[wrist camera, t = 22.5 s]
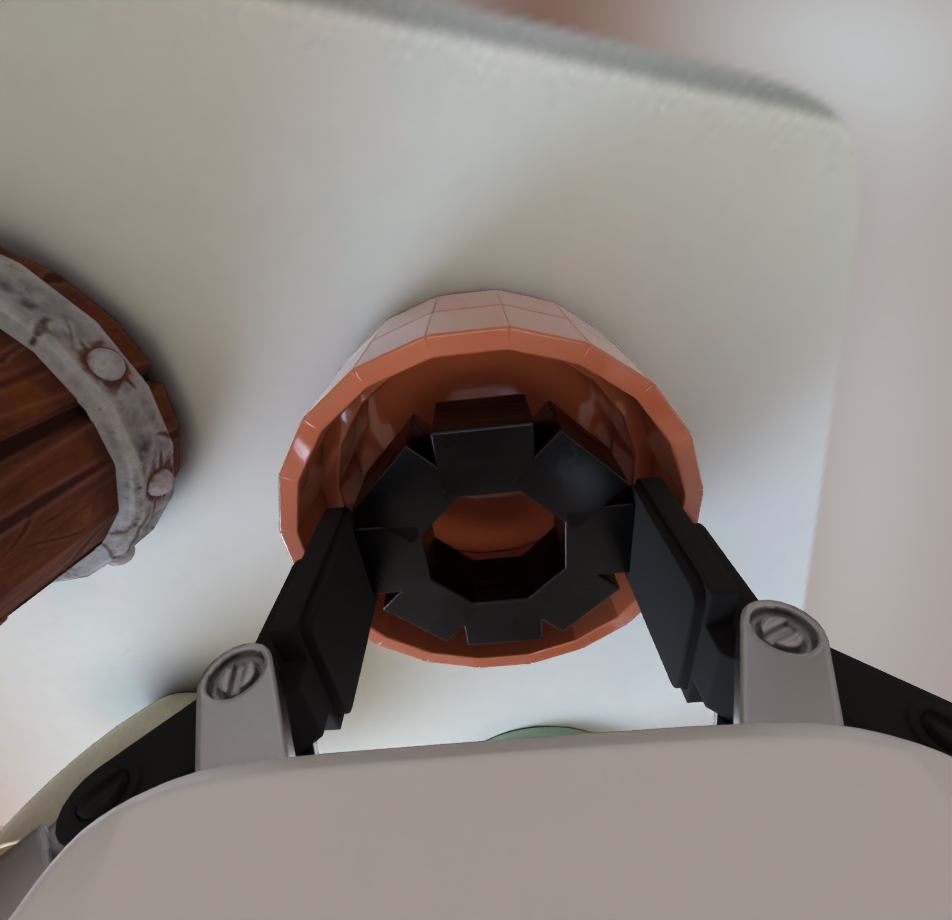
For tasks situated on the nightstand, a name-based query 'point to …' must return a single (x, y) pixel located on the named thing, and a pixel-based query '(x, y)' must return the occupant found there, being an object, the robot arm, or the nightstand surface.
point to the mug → (73, 436)
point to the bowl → (476, 376)
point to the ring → (491, 472)
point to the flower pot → (88, 768)
